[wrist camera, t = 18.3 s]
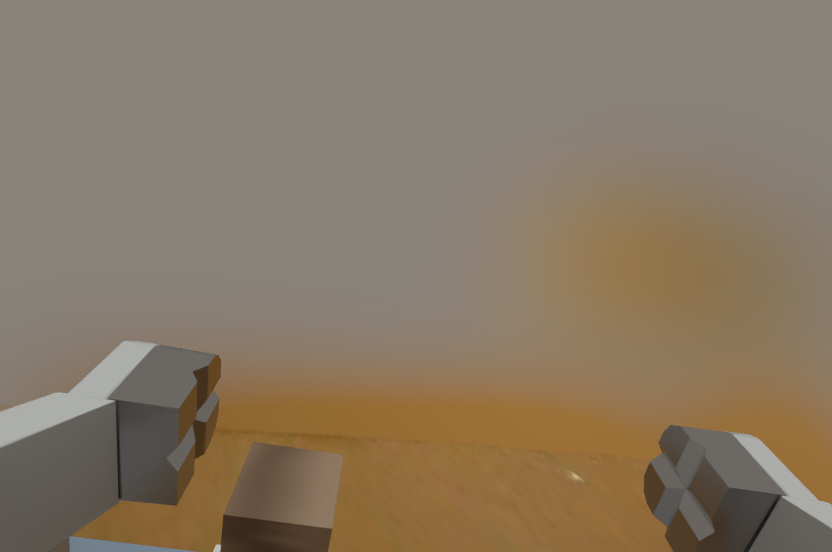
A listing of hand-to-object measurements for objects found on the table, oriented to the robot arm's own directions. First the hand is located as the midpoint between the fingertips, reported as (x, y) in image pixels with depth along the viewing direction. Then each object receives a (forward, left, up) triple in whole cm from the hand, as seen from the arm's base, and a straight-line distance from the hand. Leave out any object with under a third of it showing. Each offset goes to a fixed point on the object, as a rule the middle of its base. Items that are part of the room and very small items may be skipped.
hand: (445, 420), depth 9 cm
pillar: (+2, -13, -27) cm, 30 cm away
